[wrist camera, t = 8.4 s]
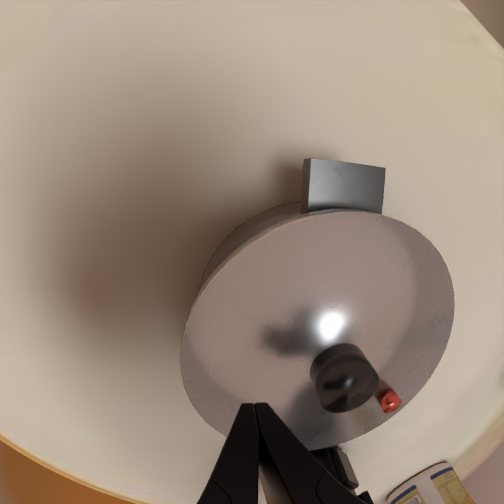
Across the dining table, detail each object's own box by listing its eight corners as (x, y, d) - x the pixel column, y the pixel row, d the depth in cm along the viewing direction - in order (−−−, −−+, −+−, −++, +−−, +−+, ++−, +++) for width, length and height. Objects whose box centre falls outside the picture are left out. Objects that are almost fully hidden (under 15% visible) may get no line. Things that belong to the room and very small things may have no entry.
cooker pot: (282, 418, 19) (294, 464, 15) (135, 283, 15) (107, 324, 11) (424, 317, 18) (461, 349, 13) (324, 133, 14) (364, 122, 9)
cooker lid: (465, 220, 11) (503, 233, 8) (399, 418, 14) (416, 445, 12) (176, 201, 10) (159, 213, 7) (195, 441, 13) (192, 479, 11)
